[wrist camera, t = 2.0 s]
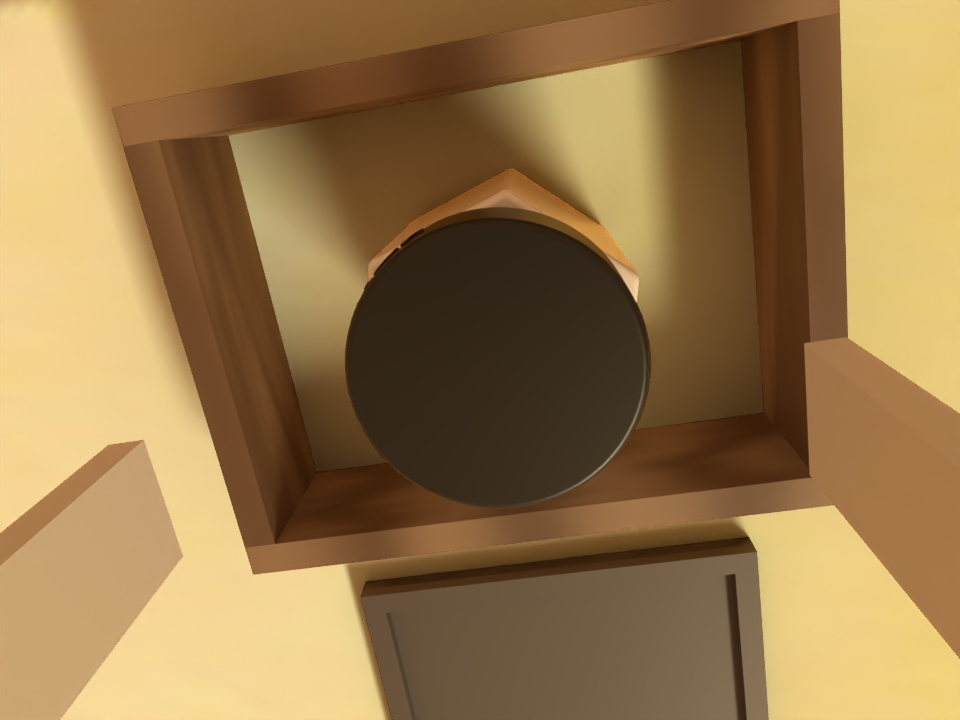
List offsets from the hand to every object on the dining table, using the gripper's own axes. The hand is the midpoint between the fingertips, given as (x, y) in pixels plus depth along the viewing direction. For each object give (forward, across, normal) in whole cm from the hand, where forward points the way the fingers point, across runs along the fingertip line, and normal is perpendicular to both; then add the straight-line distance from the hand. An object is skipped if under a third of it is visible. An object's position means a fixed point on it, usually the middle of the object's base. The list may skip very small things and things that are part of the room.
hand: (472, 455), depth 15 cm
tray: (+17, 0, +21) cm, 27 cm away
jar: (+17, 0, 0) cm, 17 cm away
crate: (+17, 0, 0) cm, 17 cm away
